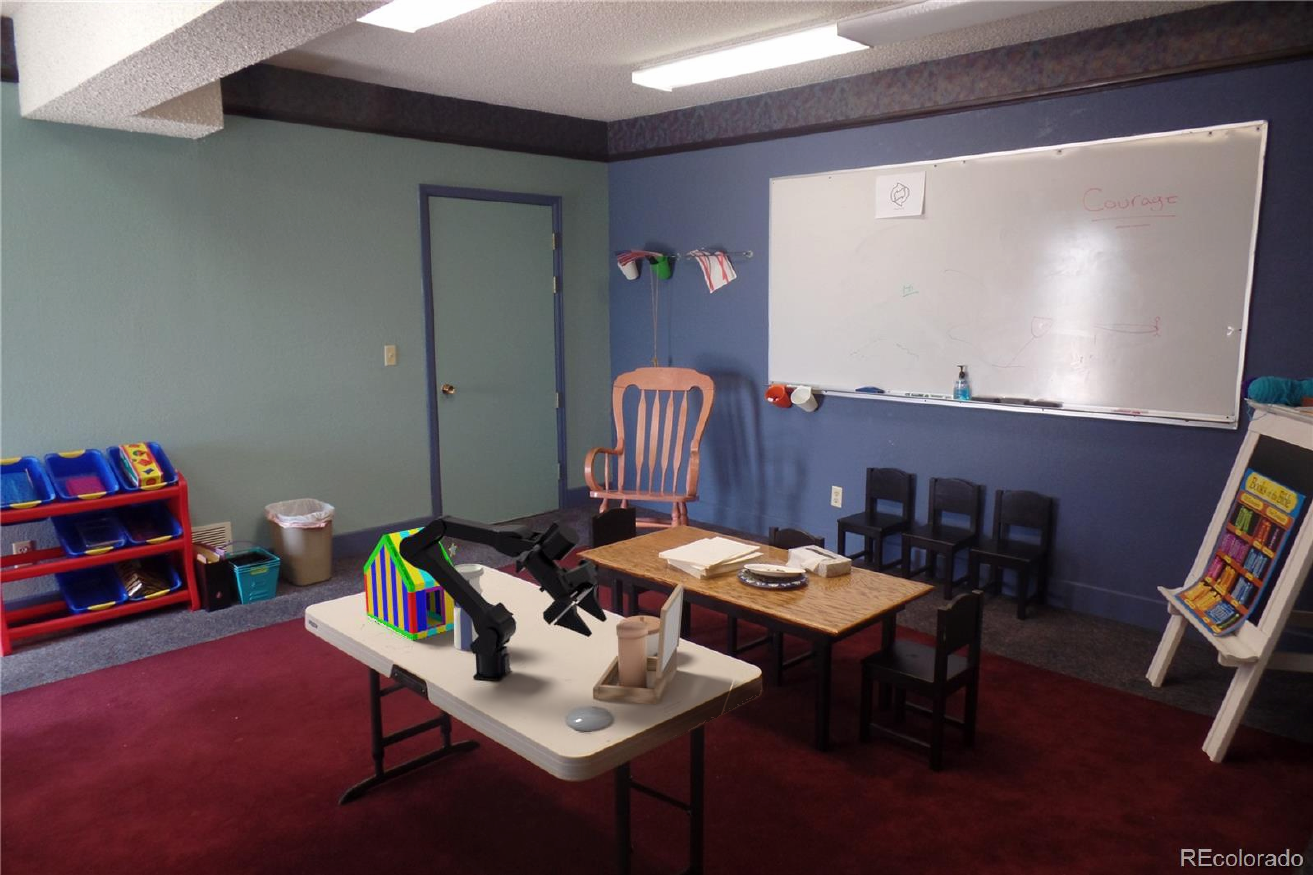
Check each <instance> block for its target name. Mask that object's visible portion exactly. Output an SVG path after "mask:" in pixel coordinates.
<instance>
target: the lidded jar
mask: <svg viewBox="0 0 1313 875" xmlns="http://www.w3.org/2000/svg"><path fill="white" fill-rule="evenodd" d="M624 621H642V622H645V623H646V624H647V625H648V634H647V635H646V643H647V656H653V657H655V656H656V654H658V642H659V629H660V618H659V617H656V616H652V615H635V616H629V617H625V618H623V619H621V620H620V621H619V623H621V622H624Z"/></svg>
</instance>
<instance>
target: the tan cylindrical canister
mask: <svg viewBox="0 0 1313 875" xmlns="http://www.w3.org/2000/svg"><path fill="white" fill-rule="evenodd" d="M615 634H616V636H617V653H618V654H617V656H618V667H619V686H622V687H634V688H646V689H647V643H646V635H647V634H648V625H647V624H646V623H645V622H642V621H624V622H621V623H620V622H619V623H617V624H616V626H615Z"/></svg>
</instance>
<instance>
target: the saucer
mask: <svg viewBox="0 0 1313 875" xmlns="http://www.w3.org/2000/svg"><path fill="white" fill-rule="evenodd" d="M611 722H612V712H610V711H609V709H607V708H604V707H599V706H596V705H595V706H593V705H592V706H591V705H588V706H581V707H577V708H574V709H572V710H570V711H568V712H567V713H566V715H565V724H566V725H567V727H568V728H570V729H572V730H574V731H576V732H580V733H581V732H582V733H590V732H592V731H596V730H600V729H603V728H605V727H607V726H609V725H610V724H611Z"/></svg>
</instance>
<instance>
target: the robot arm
mask: <svg viewBox="0 0 1313 875" xmlns="http://www.w3.org/2000/svg"><path fill="white" fill-rule="evenodd" d="M423 527H424V528H423V529H421V530H420V531H419V532H417V533H414V534H412V535H410V536H407V537H405V538H403V539H402V540H401V542H400V545H399V554H400V556H401V557H402V558H403V559H404V560H405V561H407V562H408V563H409V564H410V565H412V566H413V567H415V568H418V569H420V570H423V571H425V572H427V573H428V574H429V575H430V576H431V577H432V578H433V579H434V580H435V581H436V582H437V583H438V584H439V585H440V586H441V587H442V588H443V589H444V590H445V591H446V592H447V593H448V594H449V595H450V596H451V597H452V599H453V600H454V601H455V602H456V603H457V604H458V605H459V606H460V607H461V608H462V609H463V610H464V611H465V612H466V613H467V614H468V615H469V616H470V618H471V619H472V622H473V626H474V629H475V632H476V633H477V635H478V637H477V638H476V639H475V640H474V641H473V642H472V643H471V644H470V647H471V650H470V651H471V653H472V654H473V655H475V669H476V670H475V672H476V673H475V674H474V675H473V676H472V678H473V679H475V680H485V681H497V682H499V681H502V680H503V679H504V677H506V676H507V674H508V673H510V671H512V668H511V665H510V663H511V662H510V653H508V646H507V644H509V643H510V640H511V637H513V636H514V634H515V633H516V631H517V621H516V619H515V618H514V617H513V616H514V613H512V612H511V611H509V610H508V609H507V607H506V606H505V605H504V603H502V602H501V601H500V602H498V603H497V604H495V605H494V604H493V603H490V602H488V601H487V600H486V599H485V598H484V597H483V596H482V594H481V595H480V594H479V593H478V592H477V591H476V590H475V589H474V588H473V587H472V586H471V585H470V584H469V583H468V582H467V581H466V580H465V578H464V577H463V576H462V575H461V574H460V573H459V572H458V571H457V570H456V569H455V568H454V567H455V566H454V565H453V564H452V565H453V566H452V565H451V564H450V563H449V562H448V561H447V560H446V559H445V557H444V554H443V551H442V547H443V546H442V547H441V545H442V544H441V545H440V544H439V542H440V543H441V541H442V540H443V539H444V538H445V537H448V538H453V539H458V540H461V541H467V542H472V543H476V544H481V545H485V546H489V547H491V548H492V549H494V551H496V552H498V553H499V554H502V555H504V556H507V557H510V558H517V557H520V556H522V555H523V554H525V553H527V552H528V553H527V554H526V555H525V556H524V557H523V558H522V557H520V558H518V559H516V560H515V565H516V566H515V574H519V573H521V572H522V571H524V570H526V571H527V572H528V574H530V575H531V577H532V578H533V579H534V580H535V581H536V582H537V583H538V584H539V585H540V586H541V587H539V589H538V590H539V591H540V592H541V593H543V592H546V593H547V594H548V595H549V596H550V597H551V598H552V600H553V602H552V603H551V604H550V605H549V606H548V607H547V608H546V609H545V610H544V611H543V612H542V616H543V617H542V619H543V620H544V621H545V622H546V623H547V625H550V626H551V624H552V623H553V626H557V627H562V628H564V629H567V630H570V631H573V632H575V633H577V634H580V635H583V636H585V637H591V636H592V635H593V633H592V631H591V629H590V628H589V626H588V625H587V623H586V622H585V620H583V618H582V617H581V616H580V614H579V613H578V608H580V609H581V610H583V611H585V612H586V613H588V614H589V615H590V616H592V617H594V618H595V619H596V620H599V621H600V622H602V623H605V621H607V619H608V618H607V616H606V614H605V611H604V610H603V608H602V605H601V603H600V601H599V598H598V597H597V590H598V586H599V585H598V584H597V583H598V579H597V578H595V577H596V576H597V575H598V573H597V571H596V569H595V568H596V567H597V565H596V563H594V562H593V560H590V559H589V558H588V557H584V558H582V559H580V560H579V561H577V562H578V565H577V566H576V567H574V568H571V569H569V567H568V566H566V565H564V566H562V567H561V566H560V565H559V564H558V562H556V561H559V562H560V561H563V560H564V558H566V557H567V556H568V555H569V554H570V553H571V552H572V551H573V550H574V549H575V547H577V546H578V545H579V544H580V536H579V534H578V532H576V530H575V529H574V528H571V527H570V526H569V525H567V524H564V523H562V522H561V521H560V520H556V521H554V522H553V523H551V525H550V526H549V528H548V529H547V530H546V532H542V531H538V530H537V531H536V530H533V529H532V527H530V526H528V525H526V524H525V525H524V524H508V525H507V524H506V525H493V524H489V523H483V522H479V521H474V520H469V519H464V518H459V517H455V516H452V515H450V514H443V515H441V516H438V517H437V518H433V520H432V521H430V523H428V524H427V525H426V526H423ZM538 546H539V548H538V549H537V550H533V549H535V548H537V547H538ZM573 603H574V604H573Z"/></svg>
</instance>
